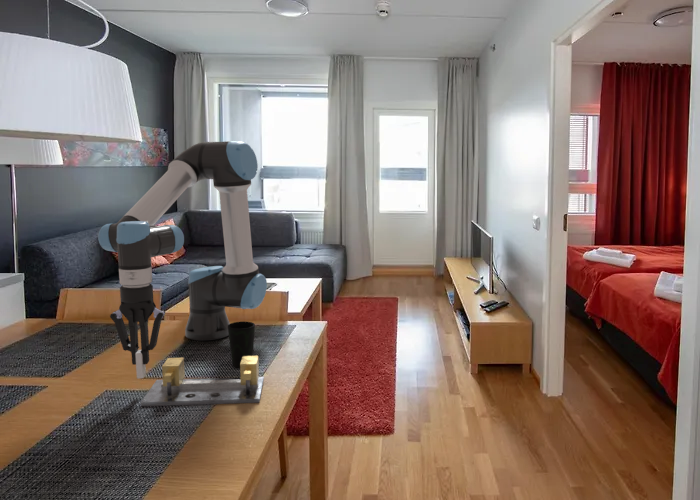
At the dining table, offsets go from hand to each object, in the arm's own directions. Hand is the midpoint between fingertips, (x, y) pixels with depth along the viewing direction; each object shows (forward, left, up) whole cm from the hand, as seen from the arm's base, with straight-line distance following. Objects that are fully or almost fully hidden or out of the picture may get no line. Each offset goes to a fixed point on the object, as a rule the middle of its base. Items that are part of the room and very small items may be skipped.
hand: (141, 376), depth 137 cm
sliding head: (+2, +8, -3) cm, 9 cm away
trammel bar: (+2, +17, -3) cm, 17 cm away
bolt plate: (+1, +16, -4) cm, 17 cm away
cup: (-18, +23, -5) cm, 30 cm away
